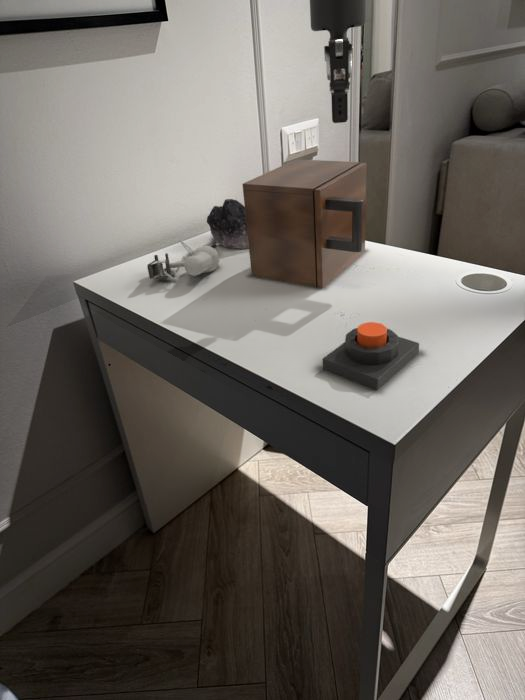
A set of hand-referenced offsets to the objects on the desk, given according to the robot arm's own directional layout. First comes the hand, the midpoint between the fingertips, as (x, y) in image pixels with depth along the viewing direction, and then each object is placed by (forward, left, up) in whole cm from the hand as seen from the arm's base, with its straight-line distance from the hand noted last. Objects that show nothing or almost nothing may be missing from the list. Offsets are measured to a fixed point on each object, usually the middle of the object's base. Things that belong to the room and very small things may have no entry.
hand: (339, 118), depth 78 cm
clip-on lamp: (+27, -9, -26) cm, 39 cm away
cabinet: (+5, -6, -26) cm, 27 cm away
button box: (+1, +29, -26) cm, 39 cm away
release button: (+1, +29, -22) cm, 36 cm away
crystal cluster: (+17, -24, -26) cm, 40 cm away
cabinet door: (-3, 0, -26) cm, 26 cm away
